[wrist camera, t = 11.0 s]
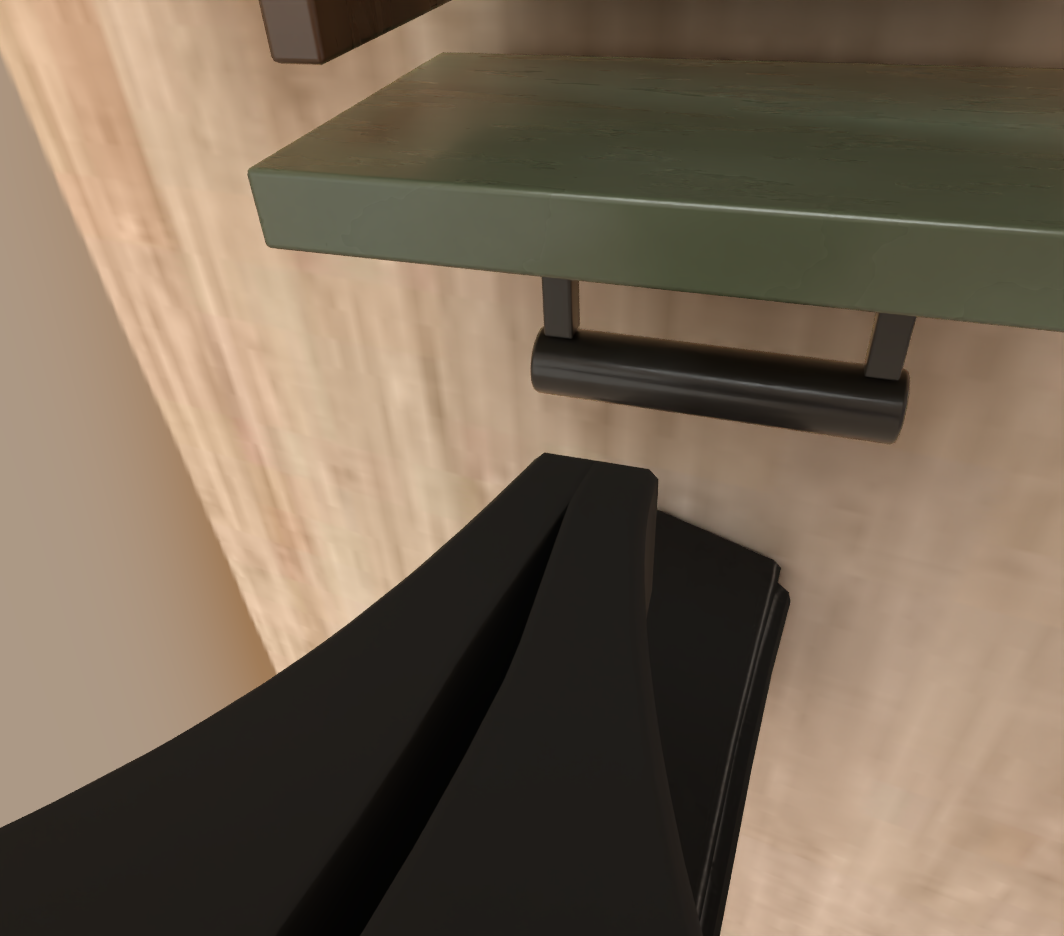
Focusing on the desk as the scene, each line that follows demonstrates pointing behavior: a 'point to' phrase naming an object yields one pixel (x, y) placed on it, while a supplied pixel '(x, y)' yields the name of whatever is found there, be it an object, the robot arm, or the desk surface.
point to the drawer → (691, 202)
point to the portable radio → (710, 690)
